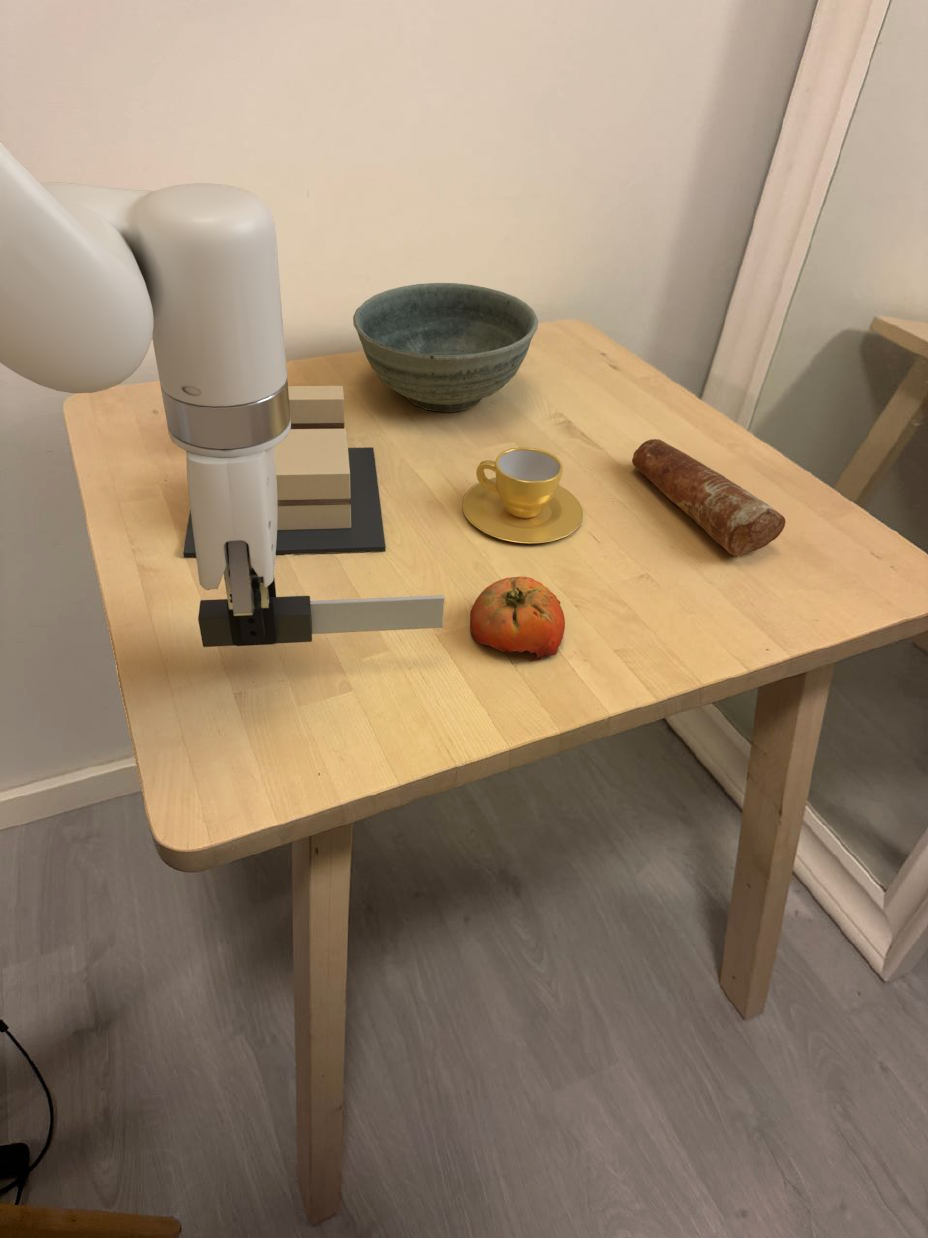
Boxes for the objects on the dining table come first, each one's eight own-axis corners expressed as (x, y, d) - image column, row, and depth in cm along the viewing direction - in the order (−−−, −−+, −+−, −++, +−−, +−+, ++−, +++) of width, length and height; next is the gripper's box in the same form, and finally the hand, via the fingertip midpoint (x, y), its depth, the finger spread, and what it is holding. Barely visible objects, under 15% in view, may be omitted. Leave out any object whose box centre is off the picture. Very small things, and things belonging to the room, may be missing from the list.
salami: (728, 570, 84) (744, 521, 81) (620, 469, 97) (629, 422, 94) (781, 556, 87) (799, 507, 83) (668, 459, 99) (679, 413, 96)
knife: (202, 647, 67) (197, 616, 65) (205, 628, 69) (199, 597, 67) (443, 635, 69) (445, 605, 67) (440, 617, 71) (442, 587, 69)
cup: (593, 493, 93) (601, 447, 90) (567, 558, 84) (575, 509, 81) (481, 469, 95) (485, 423, 92) (445, 530, 87) (448, 481, 83)
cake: (183, 558, 81) (173, 495, 76) (200, 454, 94) (191, 396, 90) (385, 551, 83) (386, 490, 79) (373, 451, 97) (373, 395, 93)
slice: (228, 452, 94) (222, 399, 90) (230, 438, 96) (224, 386, 92) (345, 451, 95) (344, 398, 91) (344, 437, 98) (342, 385, 94)
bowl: (551, 432, 102) (563, 348, 96) (368, 444, 98) (367, 356, 92) (503, 354, 118) (510, 277, 111) (343, 361, 113) (341, 281, 107)
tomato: (447, 594, 76) (511, 542, 74) (498, 622, 81) (559, 573, 78) (473, 668, 72) (542, 615, 69) (525, 692, 76) (592, 644, 74)
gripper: (178, 351, 61) (212, 567, 73) (149, 476, 49) (195, 710, 61) (290, 350, 62) (306, 563, 74) (288, 473, 50) (307, 703, 62)
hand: (255, 628), depth 68 cm, fingers closed on knife, 2 cm apart
